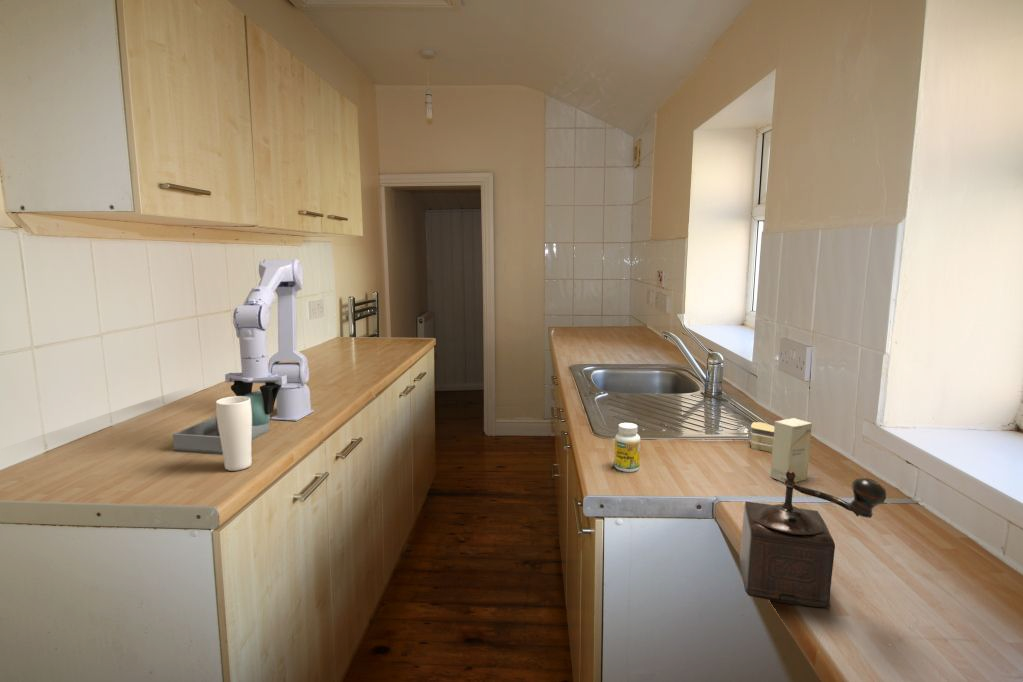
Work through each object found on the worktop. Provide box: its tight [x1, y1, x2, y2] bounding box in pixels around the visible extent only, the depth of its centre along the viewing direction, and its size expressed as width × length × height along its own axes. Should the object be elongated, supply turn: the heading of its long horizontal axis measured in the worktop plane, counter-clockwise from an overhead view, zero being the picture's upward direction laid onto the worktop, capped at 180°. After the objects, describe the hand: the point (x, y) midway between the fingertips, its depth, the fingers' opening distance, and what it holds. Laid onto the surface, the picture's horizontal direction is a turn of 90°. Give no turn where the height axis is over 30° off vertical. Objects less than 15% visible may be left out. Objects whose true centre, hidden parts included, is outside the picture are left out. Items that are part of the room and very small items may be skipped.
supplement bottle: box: [614, 422, 641, 473], centre depth 119 cm, size 5×5×10 cm
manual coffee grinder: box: [739, 471, 887, 608], centre depth 76 cm, size 16×11×18 cm
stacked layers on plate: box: [749, 421, 775, 454], centre depth 132 cm, size 10×9×6 cm
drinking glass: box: [215, 395, 253, 472], centre depth 118 cm, size 7×7×15 cm
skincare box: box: [770, 417, 813, 483], centre depth 114 cm, size 6×4×12 cm
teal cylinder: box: [245, 390, 271, 426], centre depth 130 cm, size 5×5×7 cm
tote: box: [172, 415, 270, 455], centre depth 136 cm, size 17×13×4 cm
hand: (258, 412), depth 131 cm, fingers closed on teal cylinder, 5 cm apart
